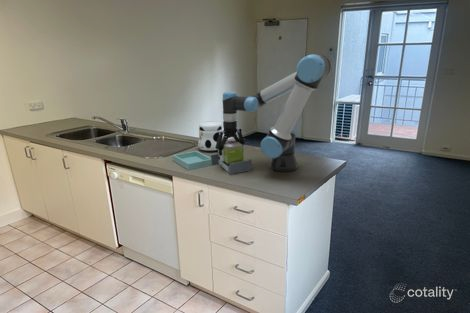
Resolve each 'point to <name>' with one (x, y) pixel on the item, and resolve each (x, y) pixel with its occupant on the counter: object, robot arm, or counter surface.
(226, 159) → the tea box
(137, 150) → the counter surface
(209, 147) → the milk container
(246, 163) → the dock
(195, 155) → the tray
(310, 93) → the robot arm
